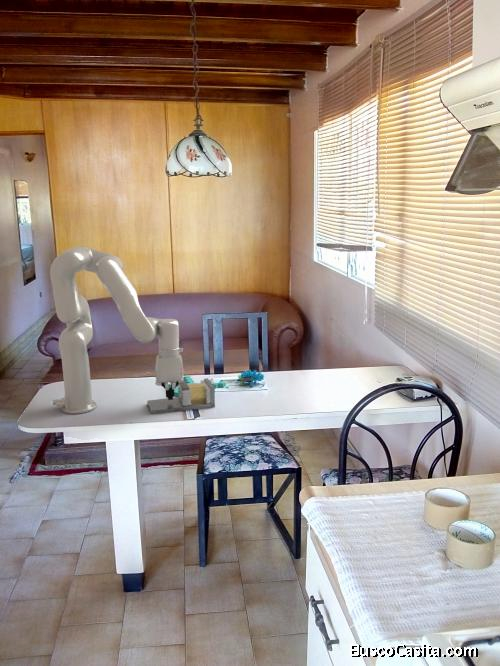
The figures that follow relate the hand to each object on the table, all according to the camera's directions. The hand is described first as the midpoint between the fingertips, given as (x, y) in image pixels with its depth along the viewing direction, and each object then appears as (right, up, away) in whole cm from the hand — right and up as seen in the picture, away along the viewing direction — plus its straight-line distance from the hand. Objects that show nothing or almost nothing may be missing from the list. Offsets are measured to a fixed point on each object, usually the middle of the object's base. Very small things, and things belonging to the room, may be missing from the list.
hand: (170, 398), depth 211 cm
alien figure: (+7, +1, +20) cm, 21 cm away
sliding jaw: (+5, -1, +2) cm, 6 cm away
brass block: (+10, -1, +3) cm, 10 cm away
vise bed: (+4, -3, +2) cm, 5 cm away
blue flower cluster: (+31, +3, +26) cm, 40 cm away
